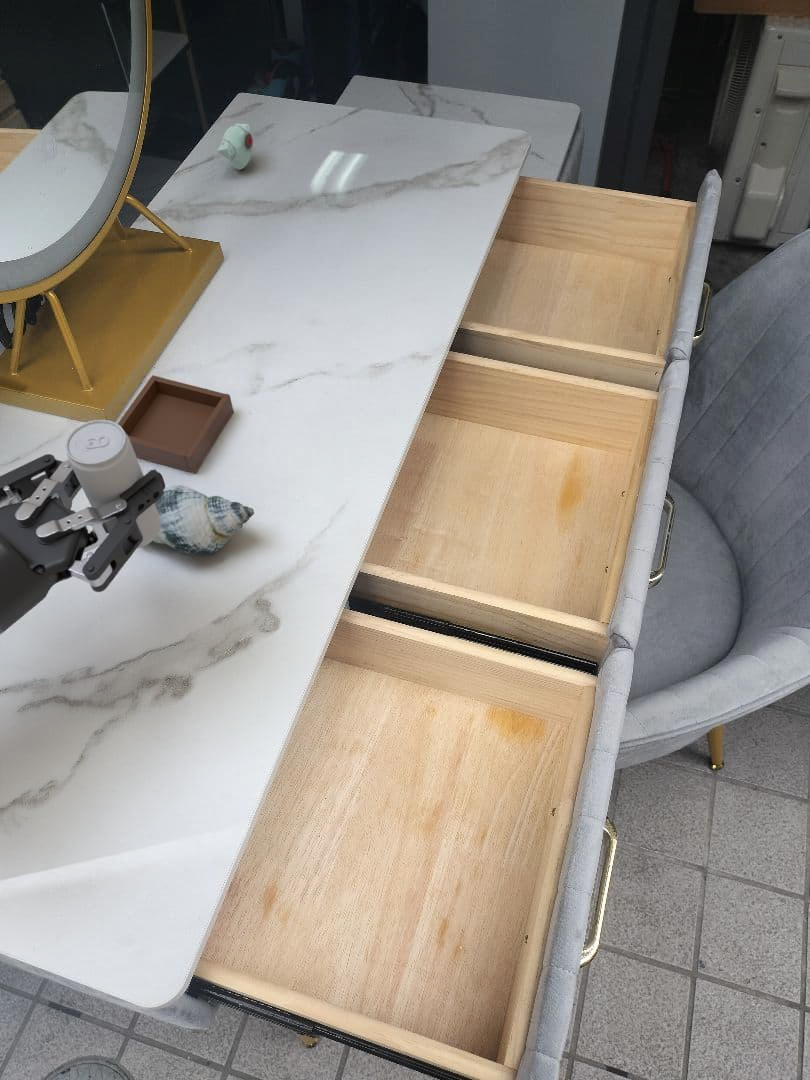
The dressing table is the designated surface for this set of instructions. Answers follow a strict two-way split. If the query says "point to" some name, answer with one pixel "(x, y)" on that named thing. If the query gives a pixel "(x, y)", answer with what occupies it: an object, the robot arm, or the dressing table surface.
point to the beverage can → (108, 469)
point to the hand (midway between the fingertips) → (137, 462)
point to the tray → (175, 422)
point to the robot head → (237, 145)
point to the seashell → (198, 520)
